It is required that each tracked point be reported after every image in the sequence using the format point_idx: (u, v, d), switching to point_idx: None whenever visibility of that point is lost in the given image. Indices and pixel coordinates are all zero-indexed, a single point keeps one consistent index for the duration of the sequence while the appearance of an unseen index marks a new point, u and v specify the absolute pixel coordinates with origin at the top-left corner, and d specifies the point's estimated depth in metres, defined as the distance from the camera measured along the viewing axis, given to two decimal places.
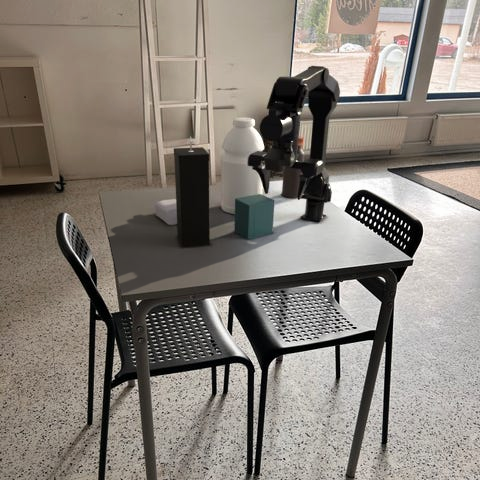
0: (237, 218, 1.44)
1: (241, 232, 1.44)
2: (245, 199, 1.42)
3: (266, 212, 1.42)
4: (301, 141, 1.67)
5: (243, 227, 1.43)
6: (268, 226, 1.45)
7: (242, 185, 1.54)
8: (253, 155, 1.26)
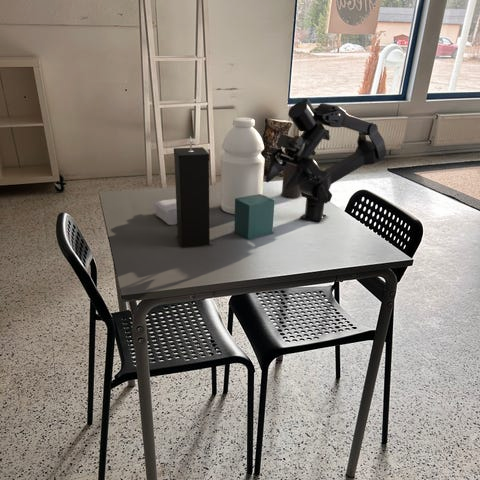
0: (237, 218, 1.44)
1: (241, 232, 1.44)
2: (245, 199, 1.42)
3: (266, 212, 1.42)
4: None
5: (243, 227, 1.43)
6: (268, 226, 1.45)
7: (242, 185, 1.54)
8: (275, 147, 1.48)
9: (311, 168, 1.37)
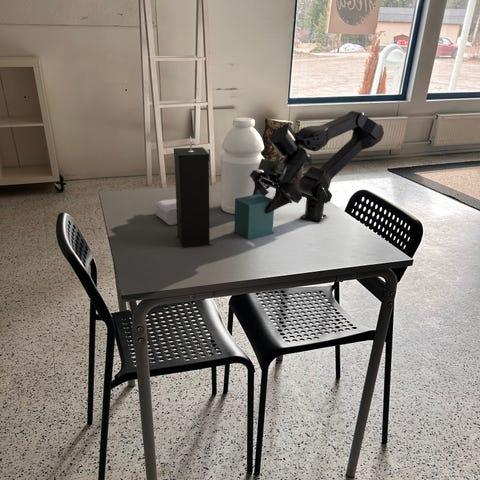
0: (237, 218, 1.44)
1: (241, 232, 1.44)
2: (245, 199, 1.42)
3: None
4: None
5: (243, 227, 1.43)
6: (268, 226, 1.45)
7: (242, 185, 1.54)
8: (258, 170, 1.48)
9: (292, 193, 1.37)
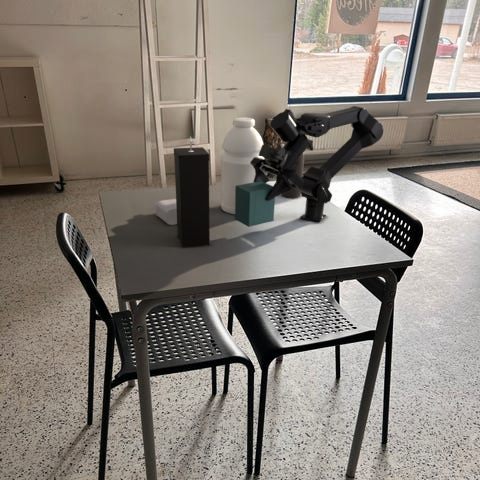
0: (238, 206, 1.42)
1: (242, 220, 1.42)
2: (246, 186, 1.40)
3: None
4: None
5: (244, 215, 1.41)
6: (269, 214, 1.43)
7: None
8: (258, 157, 1.46)
9: (293, 179, 1.35)
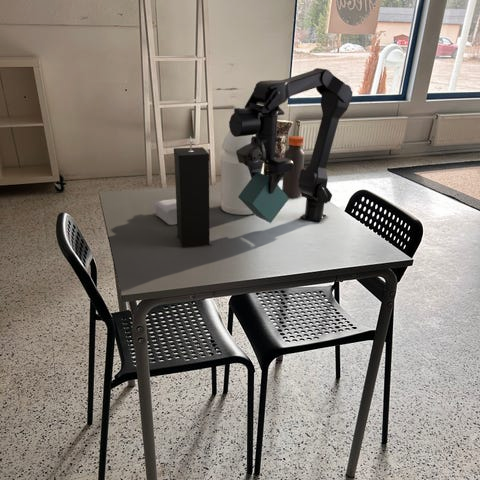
0: (251, 209, 1.45)
1: (262, 218, 1.46)
2: (246, 193, 1.41)
3: None
4: (301, 141, 1.67)
5: (260, 215, 1.44)
6: (281, 198, 1.43)
7: (242, 185, 1.54)
8: None
9: (281, 171, 1.31)
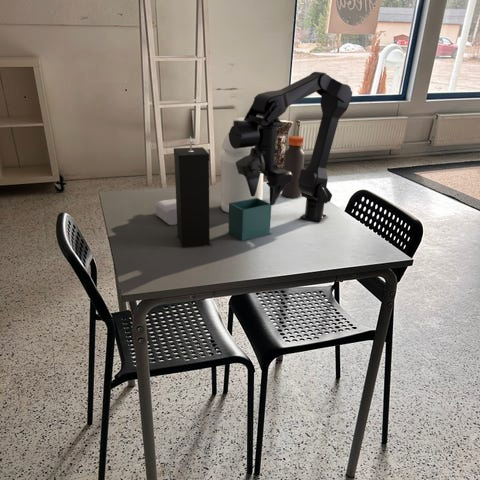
0: None
1: None
2: (232, 228, 1.44)
3: (251, 217, 1.40)
4: (301, 141, 1.67)
5: None
6: (264, 211, 1.41)
7: (242, 185, 1.54)
8: None
9: (280, 182, 1.33)
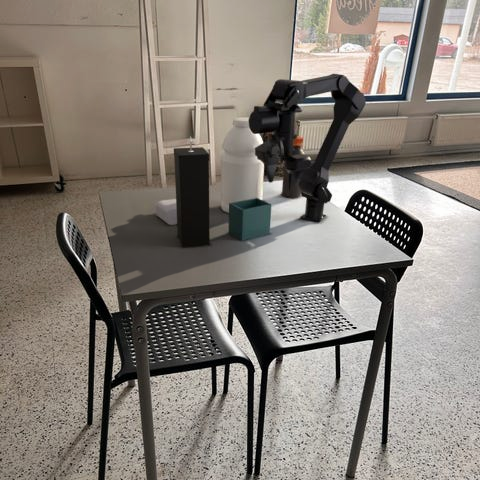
0: None
1: None
2: (232, 228, 1.44)
3: (251, 217, 1.40)
4: (301, 141, 1.67)
5: None
6: (264, 211, 1.41)
7: (242, 185, 1.54)
8: None
9: (300, 167, 1.34)
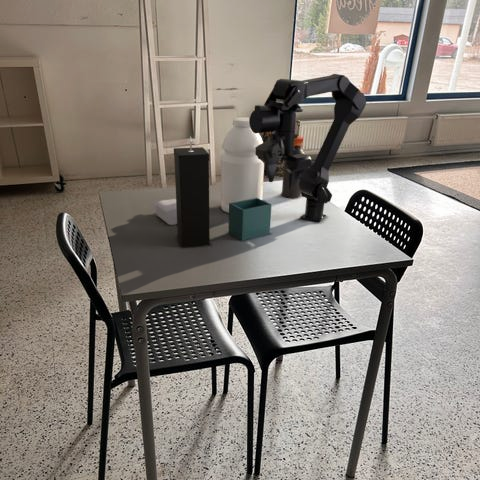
0: None
1: None
2: (232, 228, 1.44)
3: (251, 217, 1.40)
4: (301, 141, 1.67)
5: None
6: (264, 211, 1.41)
7: (242, 185, 1.54)
8: None
9: (300, 166, 1.34)
